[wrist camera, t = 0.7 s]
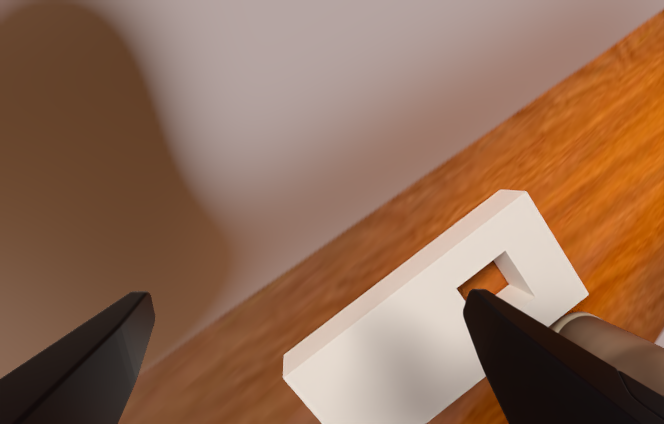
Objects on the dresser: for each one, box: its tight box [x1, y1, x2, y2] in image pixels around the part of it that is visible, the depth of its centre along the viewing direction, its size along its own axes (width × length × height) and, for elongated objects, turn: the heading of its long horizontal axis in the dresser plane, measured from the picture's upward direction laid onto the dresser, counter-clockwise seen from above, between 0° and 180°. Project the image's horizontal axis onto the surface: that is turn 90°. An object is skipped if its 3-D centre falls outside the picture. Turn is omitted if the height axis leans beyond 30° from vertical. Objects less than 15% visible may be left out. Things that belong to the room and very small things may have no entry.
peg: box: [549, 312, 664, 396], centre depth 22 cm, size 5×5×13 cm
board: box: [283, 190, 589, 424], centre depth 25 cm, size 22×10×3 cm, turn 126°
